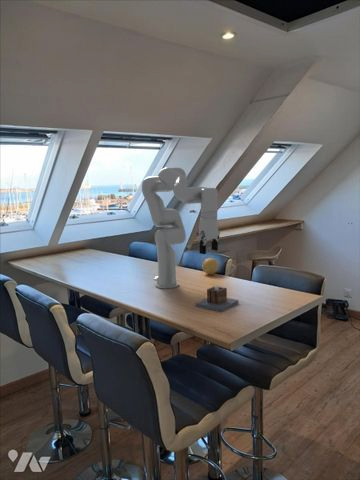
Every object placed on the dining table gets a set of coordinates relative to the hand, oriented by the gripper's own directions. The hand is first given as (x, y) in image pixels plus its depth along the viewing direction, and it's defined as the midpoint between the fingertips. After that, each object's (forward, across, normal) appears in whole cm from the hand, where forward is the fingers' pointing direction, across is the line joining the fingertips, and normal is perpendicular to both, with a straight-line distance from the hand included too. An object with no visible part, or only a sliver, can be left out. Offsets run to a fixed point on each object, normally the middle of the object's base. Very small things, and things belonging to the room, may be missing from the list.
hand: (208, 251), depth 171 cm
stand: (+23, +5, +8) cm, 24 cm away
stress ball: (+25, -41, -27) cm, 55 cm away
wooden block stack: (+21, +5, +8) cm, 23 cm away
